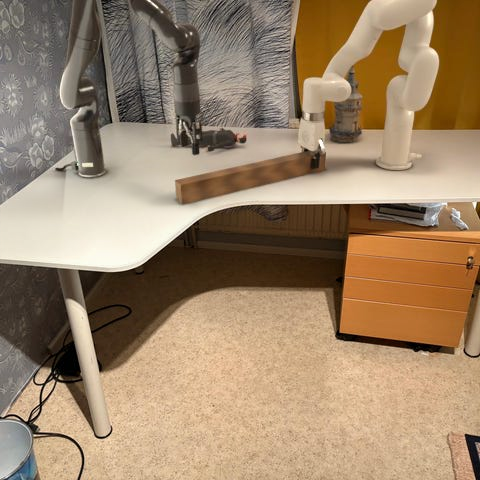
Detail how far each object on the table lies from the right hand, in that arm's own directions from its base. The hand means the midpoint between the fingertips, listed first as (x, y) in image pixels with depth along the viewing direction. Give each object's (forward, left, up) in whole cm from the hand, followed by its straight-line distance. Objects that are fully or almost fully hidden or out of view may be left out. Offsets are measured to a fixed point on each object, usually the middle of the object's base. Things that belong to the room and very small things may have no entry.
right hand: (310, 165), depth 191 cm
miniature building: (-21, -32, -2) cm, 38 cm away
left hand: (+42, +19, +14) cm, 48 cm away
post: (+21, +9, -2) cm, 23 cm away
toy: (+35, -31, -2) cm, 47 cm away
